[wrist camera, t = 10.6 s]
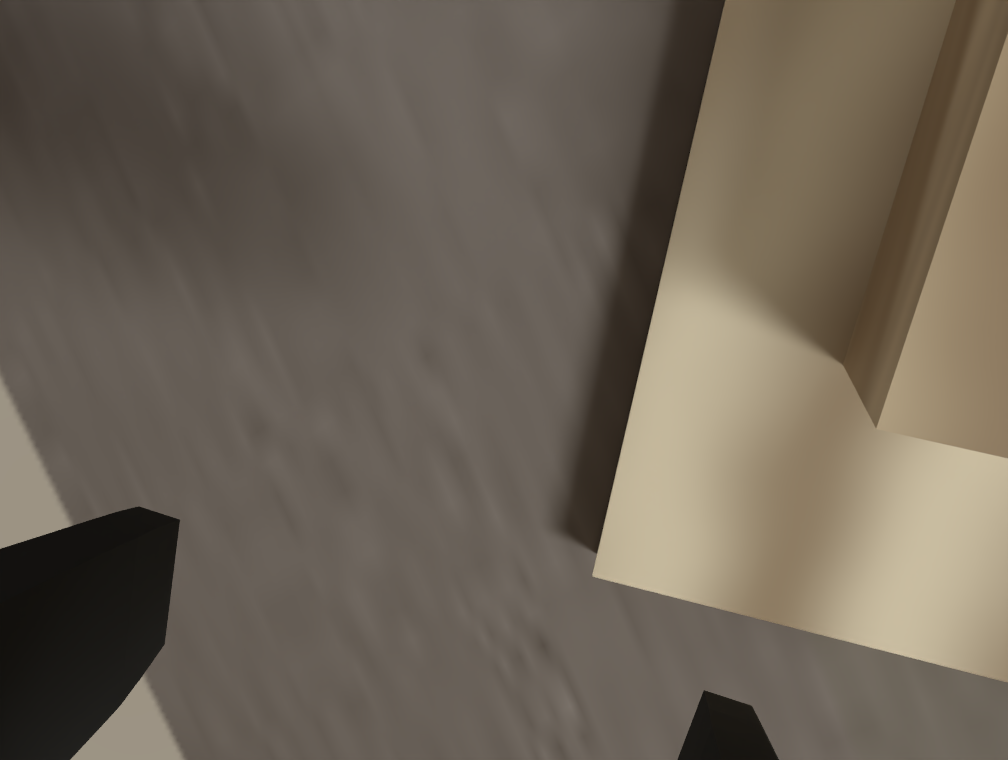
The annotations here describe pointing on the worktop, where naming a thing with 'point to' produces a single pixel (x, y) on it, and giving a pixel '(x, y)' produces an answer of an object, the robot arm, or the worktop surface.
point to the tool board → (801, 360)
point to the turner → (946, 256)
